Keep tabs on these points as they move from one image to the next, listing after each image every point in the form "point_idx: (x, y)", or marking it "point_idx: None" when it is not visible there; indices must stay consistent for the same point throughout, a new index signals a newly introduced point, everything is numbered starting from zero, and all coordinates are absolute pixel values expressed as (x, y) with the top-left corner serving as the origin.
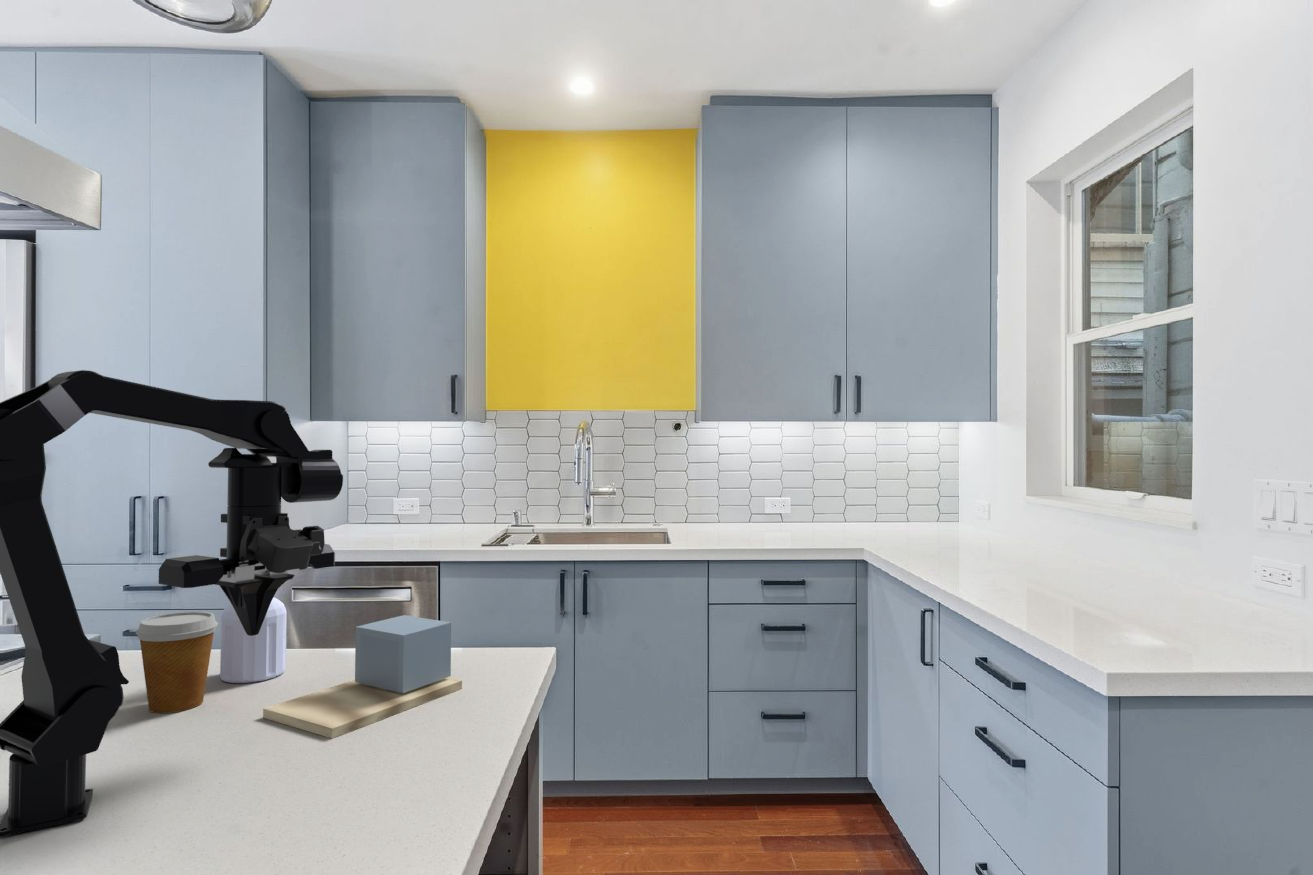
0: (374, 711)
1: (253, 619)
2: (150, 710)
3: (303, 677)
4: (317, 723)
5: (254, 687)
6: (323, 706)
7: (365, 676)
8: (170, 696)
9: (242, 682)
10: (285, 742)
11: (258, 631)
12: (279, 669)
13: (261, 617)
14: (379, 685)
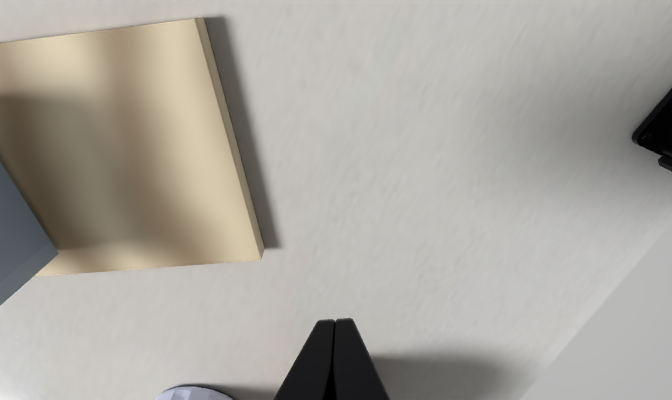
0: (62, 46)
1: (356, 389)
2: None
3: (138, 362)
4: (210, 88)
5: (218, 371)
6: (161, 181)
7: (25, 235)
8: None
9: (226, 395)
10: (290, 90)
11: (319, 327)
12: (164, 398)
13: (302, 393)
14: (8, 183)
